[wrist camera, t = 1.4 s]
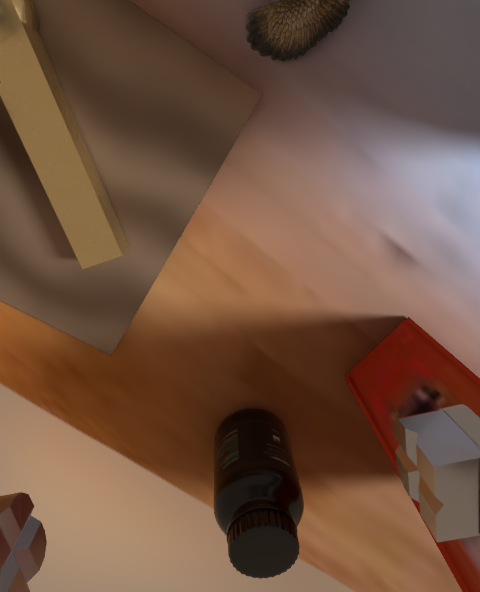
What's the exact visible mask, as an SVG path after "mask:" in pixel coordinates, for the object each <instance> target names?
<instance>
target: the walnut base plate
mask: <svg viewBox="0 0 480 592" xmlns="http://www.w3.org/2000/svg"><path fill="white" fill-rule="evenodd" d="M33 2H34V4H35V6H36V8H37V11H38V15H39V21H40V27H39V35H40V38H41V40H42V42H43V45H44V47H45V49H46V52H47V54H48V57H49V59H50V61H51V64H52V66H53V68H54V71H55V73H56V75H57V78H58V80H59V82H60V85H61V87H62V89H63V92H64V94H65V97H66V99H67V101H68V104H69V106H70V108H71V111H72V113H73V115H74V118H75V120H76V122H77V125H78V127H79V130H80V132H81V134H82V137H83V139H84V141H85V144H86V146H87V148H88V151H89V153H90V155H91V158H92V160H93V162H94V165H95V167H96V170H97V172H98V174H99V177H100V179H101V181H102V184H103V186H104V188H105V191H106V193H107V195H108V198H109V200H110V202H111V205H112V207H113V210H114V212H115V214H116V217H117V219H118V221H119V224H120V226H121V228H122V231H123V233H124V235H125V238H126V240H127V242H128V245H129V247H130V249H129V250H128V251H127V252H126V253H125V254H124V255H123V256H120V257H117V258H114V259H111V260H108V261H105V262H103V263H100V264H97V265H94V266H91V267H88V268H85V269H82V268H81V265H80V263H79V261H78V259H77V257H76V255H75V253H74V251H73V248H72V246H71V244H70V242H69V240H68V238H67V236H66V234H65V232H64V229H63V227H62V225H61V223H60V221H59V219H58V217H57V215H56V212H55V210H54V208H53V206H52V204H51V202H50V200H49V198H48V196H47V193H46V191H45V189H44V187H43V185H42V183H41V181H40V179H39V177H38V174H37V172H36V170H35V168H34V166H33V164H32V162H31V160H30V157H29V155H28V153H27V151H26V149H25V147H24V145H23V143H22V141H21V138H20V136H19V134H18V132H17V130H16V128H15V126H14V124H13V121H12V119H11V117H10V115H9V113H8V111H7V109H6V107H5V105H4V102H3V100H2V98H1V96H0V301H2V302H4V303H6V304H8V305H10V306H12V307H14V308H16V309H18V310H20V311H22V312H24V313H26V314H28V315H30V316H32V317H34V318H36V319H38V320H40V321H42V322H44V323H46V324H48V325H50V326H52V327H54V328H56V329H58V330H60V331H62V332H64V333H66V334H68V335H70V336H72V337H74V338H76V339H78V340H80V341H82V342H84V343H86V344H88V345H90V346H92V347H94V348H96V349H98V350H100V351H102V352H104V353H106V354H108V355H110V356H112V354H113V352H114V350H115V349H116V347H117V345H118V343H119V342H120V340H121V338H122V337H123V335H124V333H125V331H126V330H127V328H128V326H129V324H130V323H131V321H132V319H133V318H134V316H135V314H136V312H137V311H138V309H139V307H140V305H141V304H142V302H143V300H144V298H145V297H146V295H147V293H148V292H149V290H150V288H151V286H152V285H153V283H154V281H155V279H156V278H157V276H158V274H159V273H160V271H161V269H162V267H163V266H164V264H165V262H166V260H167V259H168V257H169V255H170V254H171V252H172V250H173V248H174V247H175V245H176V243H177V241H178V240H179V238H180V236H181V234H182V233H183V231H184V229H185V228H186V226H187V224H188V222H189V221H190V219H191V217H192V215H193V214H194V212H195V210H196V209H197V207H198V205H199V203H200V202H201V200H202V198H203V196H204V195H205V193H206V191H207V189H208V188H209V186H210V184H211V183H212V181H213V179H214V177H215V176H216V174H217V172H218V170H219V169H220V167H221V165H222V164H223V162H224V160H225V158H226V157H227V155H228V153H229V151H230V150H231V148H232V146H233V145H234V143H235V141H236V139H237V138H238V136H239V134H240V132H241V131H242V129H243V127H244V125H245V124H246V122H247V120H248V119H249V117H250V115H251V113H252V112H253V110H254V108H255V106H256V105H257V103H258V101H259V100H260V98H261V96H262V94H261V93H260V92H259V91H257V90H256V89H254V88H253V87H251V86H250V85H249V84H247V83H246V82H244V81H243V80H241V79H240V78H239V77H237V76H236V75H234V74H233V73H231V72H230V71H229V70H227V69H226V68H224V67H223V66H222V65H220V64H219V63H217V62H216V61H214V60H213V59H212V58H210V57H209V56H207V55H206V54H204V53H203V52H202V51H200V50H199V49H197V48H196V47H195V46H193V45H192V44H190V43H189V42H187V41H186V40H185V39H183V38H182V37H180V36H179V35H177V34H176V33H175V32H173V31H172V30H170V29H169V28H167V27H166V26H165V25H163V24H162V23H160V22H159V21H158V20H156V19H155V18H153V17H152V16H150V15H149V14H148V13H146V12H145V11H143V10H142V9H140V8H139V7H138V6H136V5H135V4H133V3H132V2H130V1H129V0H33Z"/></svg>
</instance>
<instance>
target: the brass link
mask: <svg viewBox="0 0 480 592" xmlns="http://www.w3.org/2000/svg"><path fill="white" fill-rule="evenodd" d="M39 27H40V21H39V15H38V11H37V8H36V6H35V4H34V2H33V0H0V96H1V98H2V100H3V102H4V105H5V107H6V109H7V111H8V113H9V115H10V117H11V119H12V121H13V124H14V126H15V128H16V130H17V132H18V134H19V136H20V138H21V141H22V143H23V145H24V147H25V149H26V151H27V153H28V155H29V157H30V160H31V162H32V164H33V166H34V168H35V170H36V172H37V174H38V177H39V179H40V181H41V183H42V185H43V187H44V189H45V191H46V193H47V196H48V198H49V200H50V202H51V204H52V206H53V208H54V210H55V212H56V215H57V217H58V219H59V221H60V223H61V225H62V227H63V229H64V232H65V234H66V236H67V238H68V240H69V242H70V244H71V246H72V248H73V251H74V253H75V255H76V257H77V259H78V261H79V263H80V265H81V268H82V269H85V268H88V267H91V266H94V265H97V264H100V263H103V262H105V261H108V260H111V259H114V258H117V257H120V256H123V255H124V254H125V253H126V252H127V251H128V250H129V249H130V247H129V245H128V242H127V240H126V238H125V235H124V233H123V231H122V228H121V226H120V224H119V221H118V219H117V217H116V214H115V212H114V210H113V207H112V205H111V202H110V200H109V198H108V195H107V193H106V191H105V188H104V186H103V184H102V181H101V179H100V177H99V174H98V172H97V170H96V167H95V165H94V162H93V160H92V158H91V155H90V153H89V151H88V148H87V146H86V144H85V141H84V139H83V137H82V134H81V132H80V130H79V127H78V125H77V122H76V120H75V118H74V115H73V113H72V111H71V108H70V106H69V104H68V101H67V99H66V97H65V94H64V92H63V89H62V87H61V85H60V82H59V80H58V78H57V75H56V73H55V71H54V68H53V66H52V64H51V61H50V59H49V57H48V54H47V52H46V49H45V47H44V45H43V42H42V40H41V38H40V35H39Z"/></svg>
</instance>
